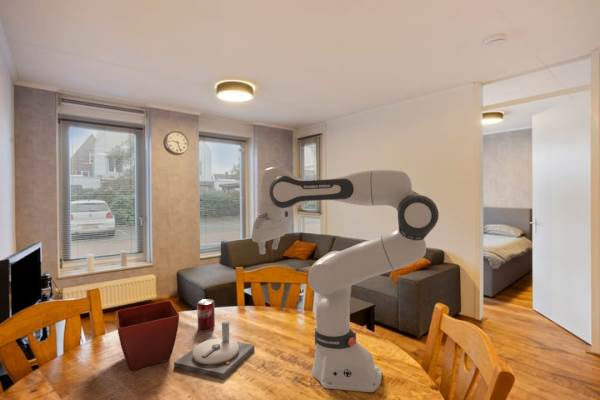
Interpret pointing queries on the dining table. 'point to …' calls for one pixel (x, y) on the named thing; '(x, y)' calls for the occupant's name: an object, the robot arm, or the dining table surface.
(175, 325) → the plant pot
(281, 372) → the dining table surface
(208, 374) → the dial base
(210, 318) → the soda can
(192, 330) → the dining table surface
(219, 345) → the dial
